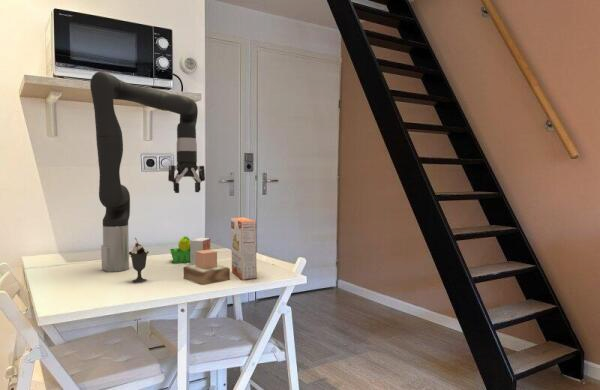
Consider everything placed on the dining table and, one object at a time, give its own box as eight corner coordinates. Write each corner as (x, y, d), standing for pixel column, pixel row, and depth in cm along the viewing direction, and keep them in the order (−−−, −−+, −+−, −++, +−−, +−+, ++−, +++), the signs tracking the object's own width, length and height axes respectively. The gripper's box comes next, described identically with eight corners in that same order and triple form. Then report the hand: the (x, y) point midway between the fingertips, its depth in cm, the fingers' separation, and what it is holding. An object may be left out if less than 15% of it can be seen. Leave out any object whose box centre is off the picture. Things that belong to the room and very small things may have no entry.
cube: (203, 269, 154) (203, 253, 153) (195, 266, 158) (195, 251, 157) (217, 266, 157) (217, 251, 157) (209, 264, 161) (208, 249, 161)
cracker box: (230, 272, 168) (230, 217, 167) (246, 270, 171) (245, 216, 169) (240, 280, 155) (240, 221, 154) (257, 278, 158) (256, 220, 157)
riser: (202, 284, 149) (202, 272, 149) (183, 277, 159) (183, 266, 159) (229, 279, 157) (229, 267, 156) (210, 273, 166) (210, 261, 166)
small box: (203, 266, 178) (202, 240, 177) (190, 266, 179) (189, 240, 178) (211, 262, 185) (210, 237, 185) (198, 262, 187) (198, 237, 186)
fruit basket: (197, 258, 194) (196, 233, 193) (199, 262, 186) (198, 236, 185) (170, 260, 190) (169, 234, 190) (170, 264, 182) (170, 237, 181)
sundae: (133, 278, 158) (132, 236, 157) (152, 278, 158) (151, 236, 157) (125, 283, 151) (125, 239, 150) (145, 283, 151) (144, 239, 150)
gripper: (198, 151, 177) (198, 191, 178) (164, 150, 167) (165, 192, 168) (208, 150, 171) (208, 192, 172) (174, 149, 162) (174, 193, 162)
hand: (187, 192), depth 170 cm, fingers open, 8 cm apart
